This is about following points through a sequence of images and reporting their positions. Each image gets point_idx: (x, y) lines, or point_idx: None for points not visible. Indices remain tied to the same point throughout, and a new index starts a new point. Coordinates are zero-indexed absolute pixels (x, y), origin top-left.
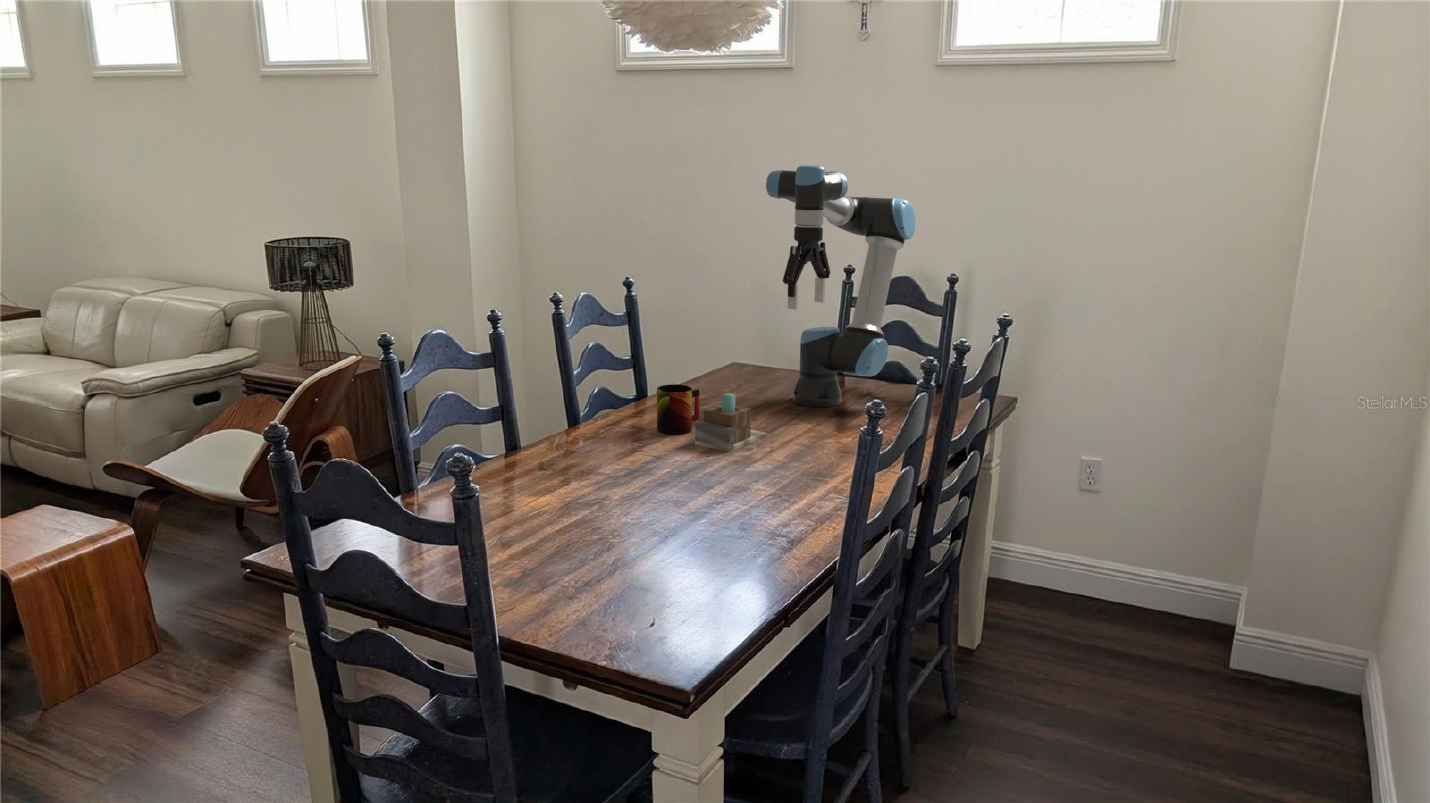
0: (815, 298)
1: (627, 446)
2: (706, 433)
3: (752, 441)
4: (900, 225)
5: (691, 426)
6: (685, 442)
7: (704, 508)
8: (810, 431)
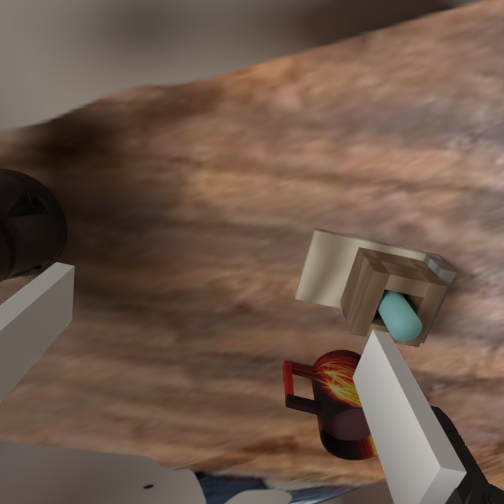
0: (60, 327)
1: (452, 398)
2: None
3: (362, 238)
4: None
5: (333, 356)
6: None
7: None
8: (239, 160)
